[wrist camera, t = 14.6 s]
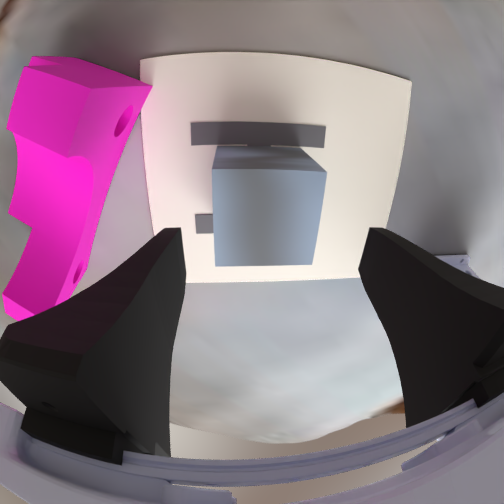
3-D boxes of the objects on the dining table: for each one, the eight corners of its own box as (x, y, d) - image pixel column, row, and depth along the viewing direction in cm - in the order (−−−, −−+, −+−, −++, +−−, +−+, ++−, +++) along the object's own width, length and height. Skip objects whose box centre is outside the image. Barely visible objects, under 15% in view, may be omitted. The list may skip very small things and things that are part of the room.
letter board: (410, 81, 13) (412, 81, 13) (369, 275, 22) (371, 277, 22) (141, 59, 12) (139, 59, 12) (163, 281, 21) (162, 283, 21)
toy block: (74, 57, 11) (-7, 58, 5) (152, 86, 13) (91, 88, 7) (29, 238, 18) (-19, 295, 11) (86, 269, 20) (47, 338, 13)
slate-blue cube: (300, 148, 16) (327, 172, 12) (293, 220, 18) (312, 264, 14) (216, 146, 15) (211, 169, 11) (218, 221, 18) (215, 266, 14)
